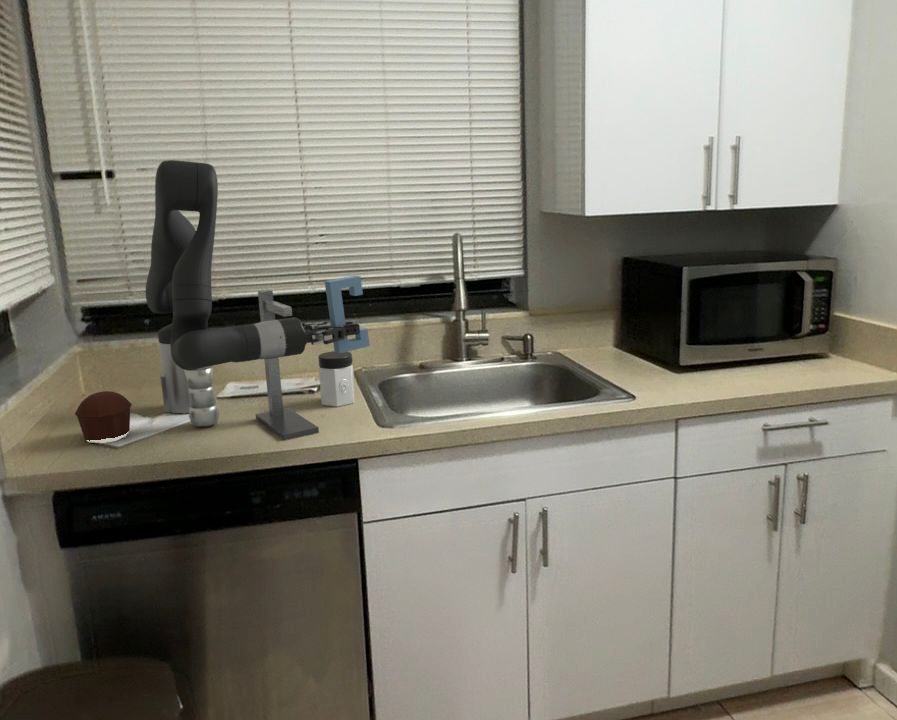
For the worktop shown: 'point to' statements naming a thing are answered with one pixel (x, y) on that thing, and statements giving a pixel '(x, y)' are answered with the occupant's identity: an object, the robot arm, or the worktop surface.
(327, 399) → the jar
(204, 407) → the plastic bottle
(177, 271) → the robot arm
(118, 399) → the muffin
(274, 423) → the stand
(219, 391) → the worktop surface
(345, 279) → the c link
